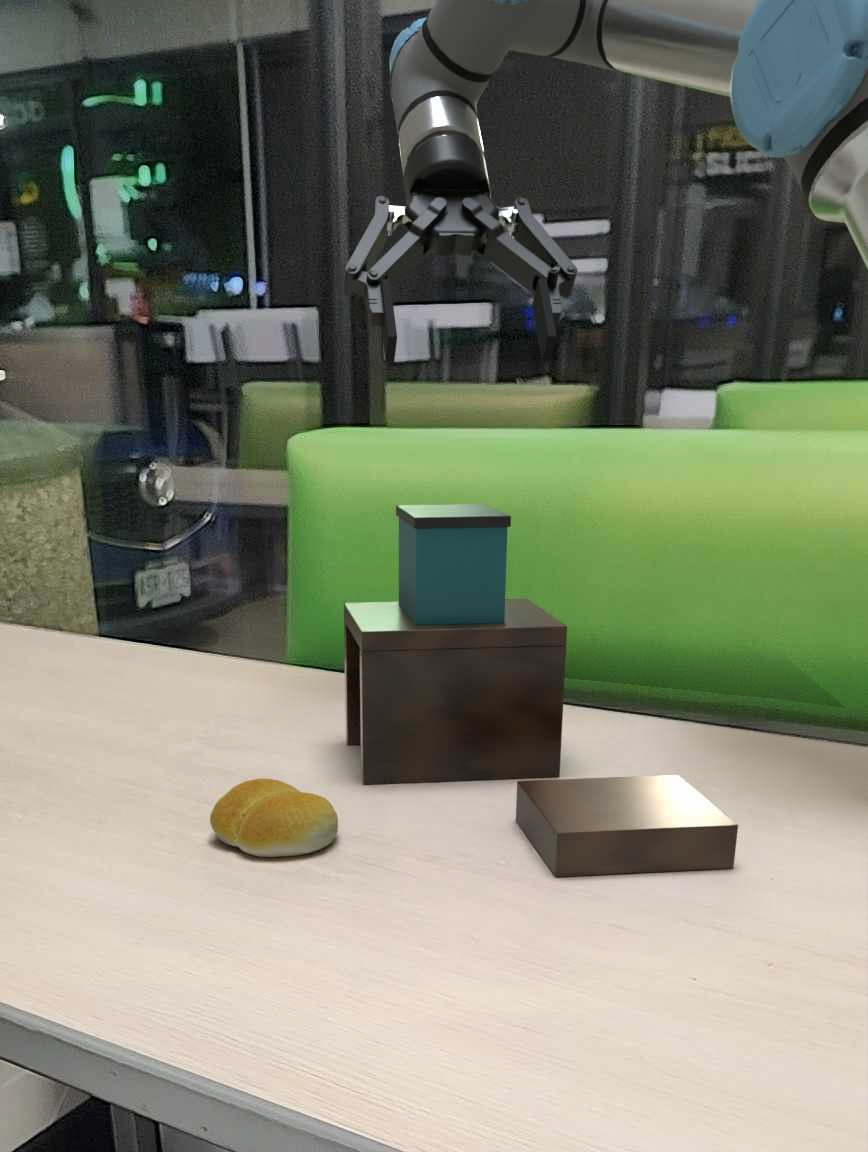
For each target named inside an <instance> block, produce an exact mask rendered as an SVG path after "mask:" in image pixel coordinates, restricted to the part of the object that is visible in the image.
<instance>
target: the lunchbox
mask: <svg viewBox="0 0 868 1152" xmlns="http://www.w3.org/2000/svg"><path fill="white" fill-rule="evenodd" d="M395 516H397V517H398V602H399V606H400V607H401V608H402V609H403V610H404V612H405V613H406V614H407V615H408V616H409V617H410V619H411V620H412V621H413V622H414V623H415V624H416V625H446V624H482V623H504V620H505V599H506V587H507V552H508V528H511V526H512V516H511V515H510V514H508V513H505V512H503V511H501V510H499V509H496V508H495V507H492V506H490V505H487V504H486V503H452V504H449V503H447V504H443V503H442V504H397V505H395Z"/></svg>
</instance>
